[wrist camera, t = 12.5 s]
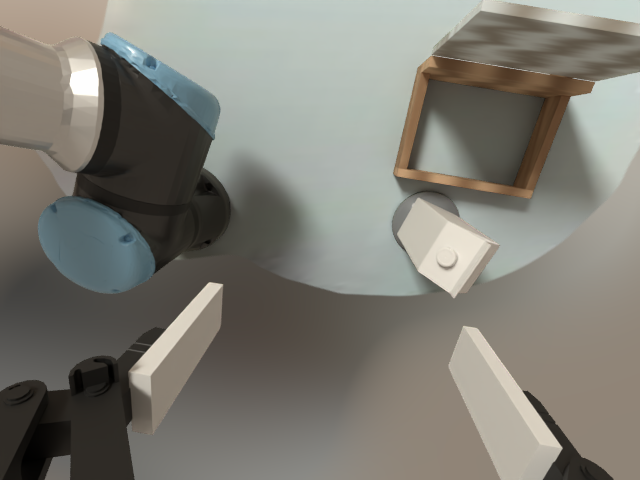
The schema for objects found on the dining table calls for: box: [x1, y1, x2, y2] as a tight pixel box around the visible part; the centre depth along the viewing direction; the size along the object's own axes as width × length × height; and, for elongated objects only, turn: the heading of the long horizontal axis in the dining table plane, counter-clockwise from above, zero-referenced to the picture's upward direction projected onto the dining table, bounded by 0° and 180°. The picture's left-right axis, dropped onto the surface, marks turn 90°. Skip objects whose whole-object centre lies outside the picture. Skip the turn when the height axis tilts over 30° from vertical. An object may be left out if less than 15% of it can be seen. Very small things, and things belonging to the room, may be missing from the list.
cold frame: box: [393, 0, 640, 199], centre depth 36 cm, size 20×17×21 cm
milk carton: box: [397, 198, 500, 298], centre depth 42 cm, size 7×7×19 cm
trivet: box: [392, 191, 460, 250], centre depth 51 cm, size 11×11×1 cm
